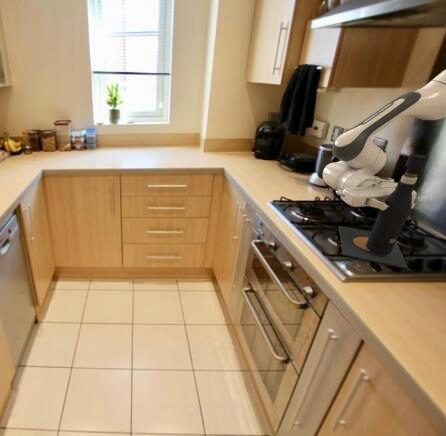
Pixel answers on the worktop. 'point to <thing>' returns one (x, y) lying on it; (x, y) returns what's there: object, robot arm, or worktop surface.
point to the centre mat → (356, 248)
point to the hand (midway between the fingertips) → (399, 207)
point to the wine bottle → (396, 209)
